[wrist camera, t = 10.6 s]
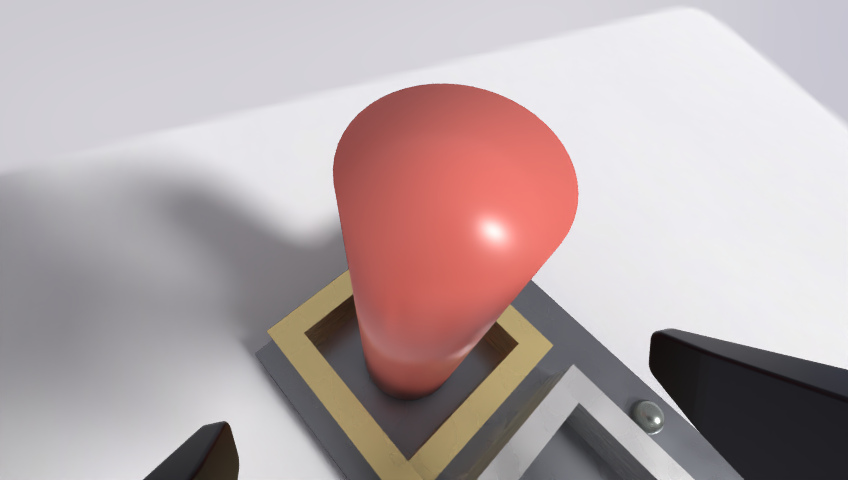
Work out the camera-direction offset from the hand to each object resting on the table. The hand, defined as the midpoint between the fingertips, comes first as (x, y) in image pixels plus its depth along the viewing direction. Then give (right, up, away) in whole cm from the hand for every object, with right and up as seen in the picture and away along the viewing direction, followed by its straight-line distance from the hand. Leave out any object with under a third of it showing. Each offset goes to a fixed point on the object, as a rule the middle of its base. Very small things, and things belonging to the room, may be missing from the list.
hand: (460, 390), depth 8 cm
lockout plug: (-1, -2, +10) cm, 10 cm away
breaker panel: (+5, -8, +9) cm, 13 cm away
